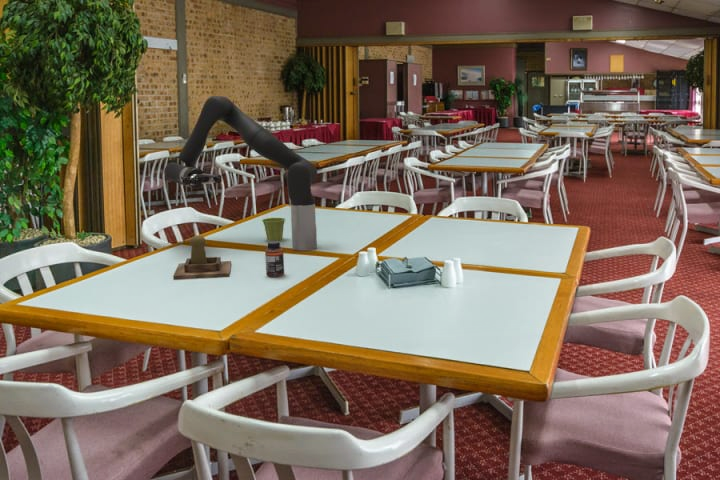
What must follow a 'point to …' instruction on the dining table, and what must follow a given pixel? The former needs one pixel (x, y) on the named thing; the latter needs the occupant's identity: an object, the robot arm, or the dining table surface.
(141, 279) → the dining table surface
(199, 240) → the cork
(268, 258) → the supplement bottle
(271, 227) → the plant pot
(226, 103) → the robot arm
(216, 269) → the condiment stand
